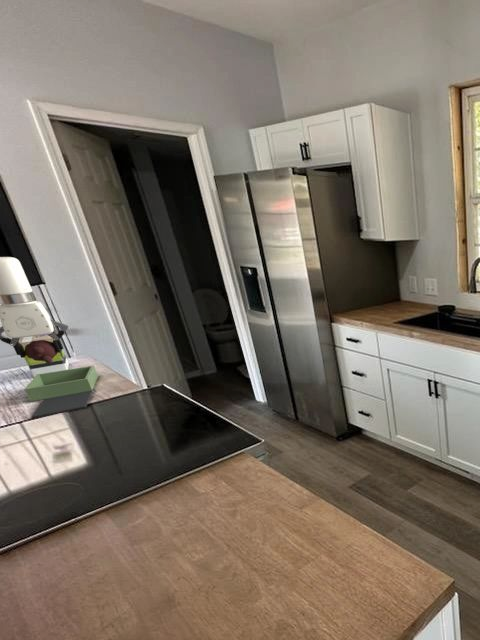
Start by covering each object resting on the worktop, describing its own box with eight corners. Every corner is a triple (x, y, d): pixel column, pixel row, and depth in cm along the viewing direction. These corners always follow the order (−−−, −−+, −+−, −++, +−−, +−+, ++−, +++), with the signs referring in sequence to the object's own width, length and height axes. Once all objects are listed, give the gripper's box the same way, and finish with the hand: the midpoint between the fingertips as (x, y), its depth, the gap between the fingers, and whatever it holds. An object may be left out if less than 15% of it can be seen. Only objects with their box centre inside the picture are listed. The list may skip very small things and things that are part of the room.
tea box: (36, 369, 173) (20, 335, 167) (69, 363, 179) (55, 330, 174) (33, 378, 163) (16, 342, 157) (69, 372, 169) (53, 337, 164)
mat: (32, 418, 128) (31, 416, 128) (44, 400, 141) (43, 399, 141) (85, 407, 135) (84, 406, 135) (92, 391, 148) (91, 390, 148)
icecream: (15, 340, 132) (18, 352, 124) (45, 330, 136) (50, 341, 128) (32, 358, 136) (37, 371, 128) (61, 348, 140) (67, 360, 132)
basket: (29, 401, 141) (24, 389, 139) (41, 385, 155) (36, 374, 153) (92, 390, 150) (87, 378, 148) (98, 376, 164) (93, 365, 162)
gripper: (-31, 304, 118) (-2, 362, 125) (55, 297, 128) (78, 351, 135) (-23, 301, 124) (5, 357, 130) (59, 294, 134) (81, 346, 140)
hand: (42, 353), depth 132 cm, fingers closed on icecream, 7 cm apart
